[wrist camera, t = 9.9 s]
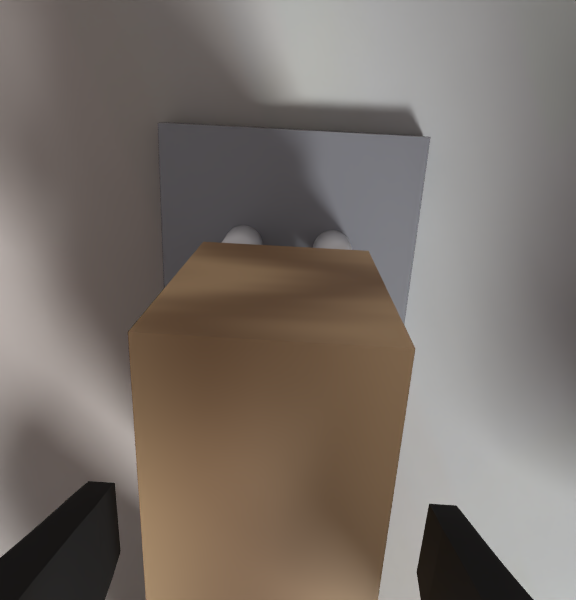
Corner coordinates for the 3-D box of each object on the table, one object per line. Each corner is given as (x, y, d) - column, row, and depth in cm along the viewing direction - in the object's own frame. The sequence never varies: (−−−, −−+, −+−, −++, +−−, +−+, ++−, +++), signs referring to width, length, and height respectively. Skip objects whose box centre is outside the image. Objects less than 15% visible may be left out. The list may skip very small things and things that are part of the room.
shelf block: (368, 250, 13) (415, 348, 8) (332, 586, 17) (346, 811, 12) (203, 241, 13) (127, 331, 8) (206, 578, 17) (159, 798, 12)
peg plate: (424, 136, 15) (454, 140, 12) (366, 558, 21) (377, 633, 18) (165, 122, 15) (129, 123, 12) (179, 545, 21) (157, 618, 18)
